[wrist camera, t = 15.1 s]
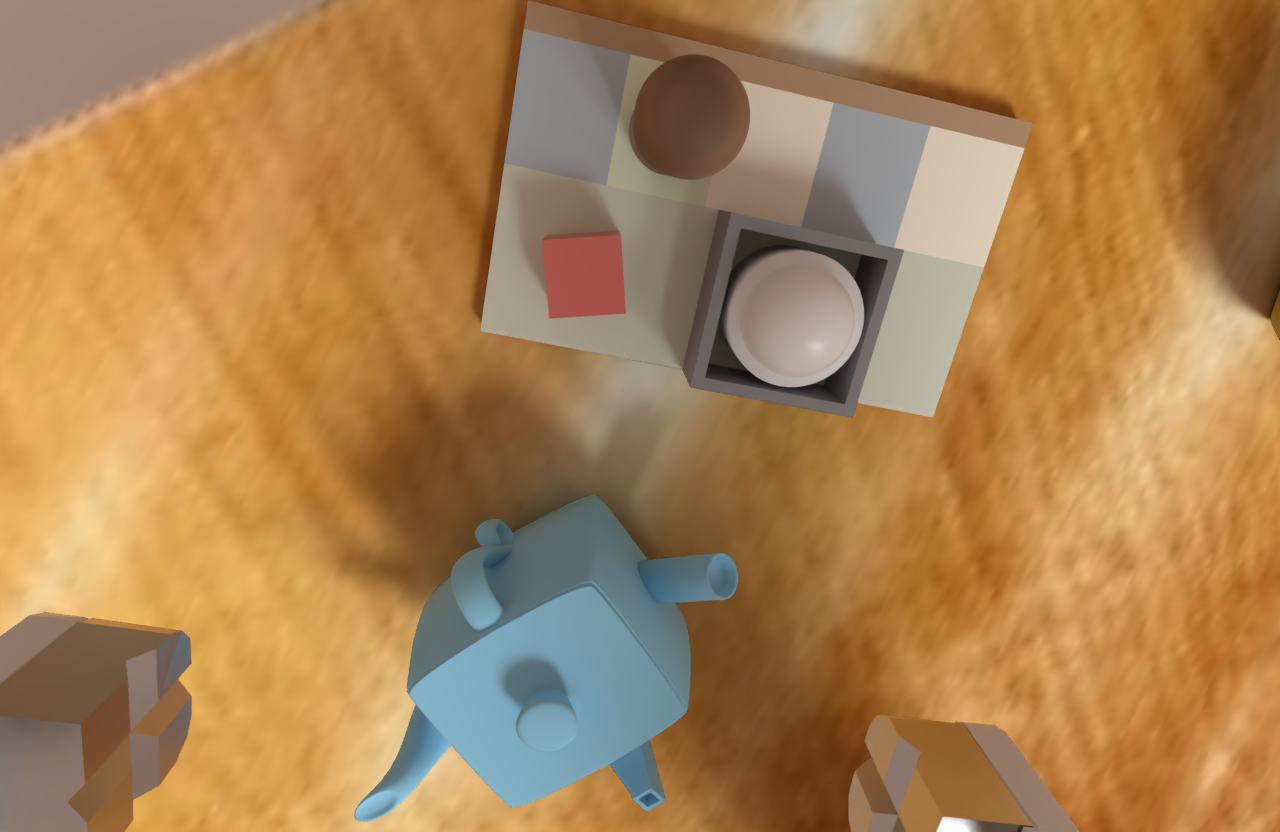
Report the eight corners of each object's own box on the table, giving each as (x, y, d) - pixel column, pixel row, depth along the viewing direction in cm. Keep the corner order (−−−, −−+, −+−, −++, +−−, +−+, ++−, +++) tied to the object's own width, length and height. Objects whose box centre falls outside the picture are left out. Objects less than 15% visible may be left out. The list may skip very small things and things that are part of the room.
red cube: (619, 230, 30) (621, 235, 27) (623, 302, 31) (625, 313, 28) (547, 235, 30) (541, 239, 27) (554, 306, 31) (549, 318, 28)
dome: (855, 259, 31) (903, 273, 26) (820, 379, 32) (860, 414, 28) (733, 233, 30) (760, 242, 25) (704, 357, 32) (723, 388, 27)
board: (1019, 125, 31) (1079, 116, 27) (923, 410, 35) (964, 438, 31) (530, 6, 28) (519, -22, 25) (483, 326, 32) (468, 345, 28)
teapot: (643, 393, 34) (660, 476, 24) (786, 612, 38) (849, 758, 28) (334, 584, 36) (237, 730, 26) (500, 771, 40) (469, 958, 30)
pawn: (730, 97, 29) (780, 68, 22) (700, 192, 30) (738, 195, 23) (640, 66, 28) (659, 25, 21) (612, 164, 29) (622, 157, 22)
